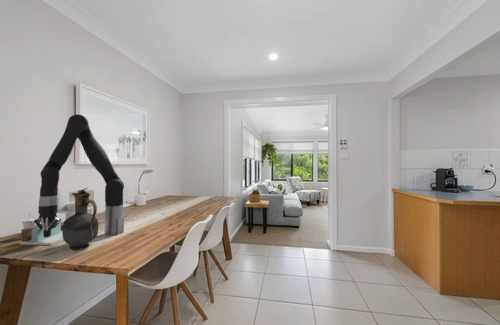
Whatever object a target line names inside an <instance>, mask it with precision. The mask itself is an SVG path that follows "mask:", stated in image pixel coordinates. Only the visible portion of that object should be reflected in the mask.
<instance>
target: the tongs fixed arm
mask: <svg viewBox="0 0 500 325" xmlns="http://www.w3.org/2000/svg"><path fill="white" fill-rule="evenodd" d="M45 224H46V223H45ZM36 228H39V227H38V226H37V225H36V226H33V227H29V228H26V229H24V228H23V229H21V234H20V238H21V239H20V242H21V241H29V240H32V229H36Z"/></svg>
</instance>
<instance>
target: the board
mask: <svg viewBox="0 0 500 325" xmlns="http://www.w3.org/2000/svg"><path fill="white" fill-rule="evenodd" d="M63 241H64V240H63V235H62V230H61V232H60V233H58V234H55V235H53V236H50V237H47V238H45V239H42V240H39V241H31V240H29V241H21V240H20V241H19V245H29V246H31V245H32V246H33V245H34V246H35V245H36V246H39V245H40V246H53V245H56V244H58V243H61V242H63ZM64 242H65V241H64Z"/></svg>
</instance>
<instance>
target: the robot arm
mask: <svg viewBox="0 0 500 325" xmlns="http://www.w3.org/2000/svg"><path fill="white" fill-rule="evenodd" d="M77 139H78V140H79V142H80V144H81V146H82V148H83V152H84V153H85V154H86V157H87V158H88V159H87V160H88V161H89V162H90V163H91V165H92V166H93V167H94V168H95V170H96V171H97V172H98V173H99V174H100V176H101V177H102V178H103V181H104V182H105V187H104V188H105V190H104V202H105V205H104V206H105V210H104V212H105V213H104V235H105V236H117V235H120V234H122V233H124V232H125V216H124V215H123V214H124V188H125V185H124V182H123V181H122V180H121V178H120V177H119V176H118V174H117V172H116V170H115V169H114V167H113V164H112V162H111V160H110V159H109V157H108V155H107V153H106V151H105V149H104V148H103V147H102V145H101V144H100V143H99V142H98V141H97V139H96V138H95V137H94V135H93V133H92V131H91V128H90V124H89V120H88V118H86V117H85V116H84V115H83V114H73V115H71V116H70V117H69V118H68V120H67V124H66V127H65V131H64V132H63V134H62V136H61V138H60V140H59V141H58V143H57V145H56V147H55V148H54V150H53V151H52V152H51V155H50V157H49V158H48V161H47V162H46V163H45V165H44V166H43V167H42V169H41V171H40V177H41V184H40V188H39V189H40V190H39V198H38V209H37V210H38V218H35V219H36V220H34V222H35V223H36V226H38V227H39V229H43V236H44V237H50V235H51V229H53V228H55V227H56V226H57V225H58V224H59V223H60V222H61V221H62V219H61V218H58V215H57V214H58V213H57V212H58V205H59V188H58V187H59V181H60V171H61V169H62V167H63V166H64V165H65V163H66V162H67V161H68V159H69V157H70V155H71V153H72V151H73V148H74V146H75V144H76V141H77ZM45 223H46V224H45Z"/></svg>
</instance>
